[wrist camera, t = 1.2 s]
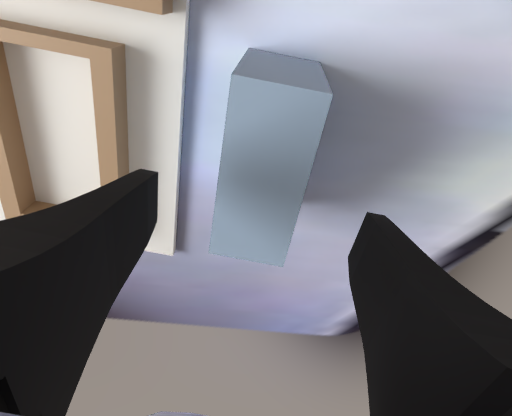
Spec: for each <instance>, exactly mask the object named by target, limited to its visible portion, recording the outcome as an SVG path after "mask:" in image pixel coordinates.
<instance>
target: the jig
mask: <svg viewBox="0 0 512 416" xmlns="http://www.w3.org/2000/svg"><path fill="white" fill-rule="evenodd" d="M189 6H190V0H0V221H1V220H5V219H9V218H13V217H17V216H22V215H26V214H29V213H33V212H36V211H39V210H42V209H46V208H49V207H52V206H55V205H58V204H61V203H63V202H66V201H68V200H71V199H73V198H76V197H78V196H81V195H83V194H85V193H88V192H90V191H93V190H95V189H97V188H99V187H101V186H103V185H106V184H108V183H110V182H112V181H114V180H116V179H118V178H120V177H122V176H125V175H127V174H129V173H131V172H133V171H135V170H138V169H145V170H150V171H156V172H158V216H157V223H156V226H155V228H154V231H153V233H152V236H151V238H150V240H149V243H148V245H147V247H146V248H145V250H144V251H148V252H154V253H159V254H164V255H170V256H173V255H174V252H175V248H176V231H177V213H178V196H179V179H180V162H181V144H182V127H183V110H184V92H185V75H186V58H187V41H188V23H189Z"/></svg>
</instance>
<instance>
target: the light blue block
mask: <svg viewBox="0 0 512 416" xmlns="http://www.w3.org/2000/svg"><path fill="white" fill-rule="evenodd" d="M332 97H333V92H332V90H331V88H330V85H329V83H328V80H327V78H326V75H325V73H324V71H323V68H322V66H321V63H320V62H316V61H311V60H306V59H301V58H296V57H291V56H286V55H281V54H276V53H271V52H266V51H261V50H256V49H252V48H248V50H247V51H246V53H245V54H244V56H243V57H242V59H241V60H240V62H239V63H238V65H237V66H236V68H235V69H234V71H233V73H232V74H231V82H230V89H229V97H228V105H227V113H226V121H225V129H224V136H223V144H222V152H221V160H220V168H219V176H218V183H217V191H216V199H215V207H214V215H213V223H212V230H211V238H210V246H209V254H215V255H220V256H226V257H231V258H236V259H242V260H247V261H252V262H258V263H263V264H269V265H274V266H279V267H283V266H284V262H285V259H286V255H287V252H288V248H289V245H290V241H291V238H292V235H293V231H294V228H295V224H296V221H297V217H298V214H299V211H300V207H301V204H302V200H303V197H304V193H305V190H306V186H307V183H308V180H309V176H310V173H311V169H312V166H313V162H314V159H315V156H316V152H317V149H318V145H319V142H320V138H321V135H322V132H323V128H324V125H325V121H326V118H327V114H328V111H329V107H330V104H331V101H332Z"/></svg>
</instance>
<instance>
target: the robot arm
mask: <svg viewBox="0 0 512 416" xmlns="http://www.w3.org/2000/svg"><path fill="white" fill-rule="evenodd" d="M157 216H158V172H156V171H150V170H145V169H138V170H135V171H133V172H131V173H129V174H127V175H125V176H122V177H120V178H118V179H116V180H114V181H112V182H110V183H108V184H106V185H103V186H101V187H99V188H97V189H95V190H93V191H90V192H88V193H85V194H83V195H81V196H78V197H76V198H73V199H71V200H68V201H66V202H63V203H61V204H58V205H55V206H52V207H49V208H46V209H42V210H39V211H36V212H33V213H29V214H26V215H22V216H17V217H13V218H9V219H5V220H1V221H0V416H65V415H66V413H67V410H68V407H69V404H70V402H71V400H72V397H73V394H74V392H75V390H76V387H77V384H78V382H79V380H80V377H81V375H82V372H83V370H84V367H85V365H86V362H87V360H88V358H89V356H90V353H91V351H92V349H93V346H94V344H95V342H96V339H97V337H98V335H99V332H100V330H101V328H102V326H103V324H104V322H105V319H106V317H107V315H108V313H109V311H110V308H111V306H112V304H113V303H114V301H115V299H116V297H117V295H118V293H119V292H120V290H121V288H122V287H123V285H124V284H125V282H126V280H127V279H128V277H129V275H130V274H131V272H132V270H133V269H134V267H135V265H136V264H137V262H138V260H139V258H140V257H141V255H142V253H143V252H144V250H145V248H146V247H147V245H148V243H149V240H150V238H151V236H152V233H153V231H154V228H155V226H156V223H157ZM348 266H349V280H350V286H351V291H352V296H353V301H354V305H355V310H356V314H357V319H358V323H359V328H360V332H361V337H362V342H363V348H364V354H365V363H366V373H367V383H368V395H369V407H370V416H512V319H510V318H509V317H507V316H506V315H504V314H503V313H501V312H499V311H498V310H496V309H495V308H493V307H492V306H490V305H489V304H487V303H486V302H484V301H483V300H482V299H480V298H479V297H477V296H476V295H475V294H473V293H472V292H471V291H469V290H468V289H467V288H465V287H464V286H463V285H461V284H460V283H459V282H458V281H456V280H455V279H454V278H452V277H451V276H450V275H449V274H448V273H447V272H445V271H444V270H443V269H442V268H441V267H440V266H438V265H437V264H436V263H435V262H434V261H433V260H432V259H431V258H430V257H428V256H427V255H426V254H425V253H424V252H423V251H422V250H421V249H420V248H419V247H418V246H417V245H416V244H415V243H414V242H413V241H412V240H411V239H410V238H408V237H407V236H406V235H405V234H404V233H403V232H402V231H401V230H400V229H399V228H398V227H397V226H396V225H395V224H394V223H393V222H392V221H391V220H390V219H388V218H387V217H386V216H384V215H379V214H374V213H369V212H367V213H366V216H365V218H364V221H363V223H362V225H361V228H360V230H359V232H358V235H357V237H356V239H355V242H354V244H353V247H352V249H351V251H350V254H349V256H348ZM148 416H206V415H201V414H195V413H187V412H157V413H154V414H151V415H148Z"/></svg>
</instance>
